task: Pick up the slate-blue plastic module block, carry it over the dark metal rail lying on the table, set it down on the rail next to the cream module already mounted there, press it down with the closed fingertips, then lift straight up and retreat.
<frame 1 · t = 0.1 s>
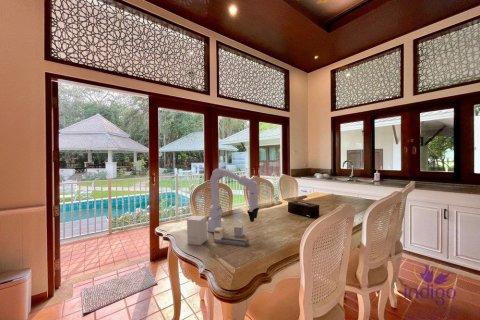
hand: (253, 219, 138), 10 cm above the table, fingers open, 7 cm apart
module: (238, 235, 137), on the table
mounted module: (218, 241, 128), resting on rail
supplement box: (197, 242, 128), on the table
rail: (230, 243, 125), on the table
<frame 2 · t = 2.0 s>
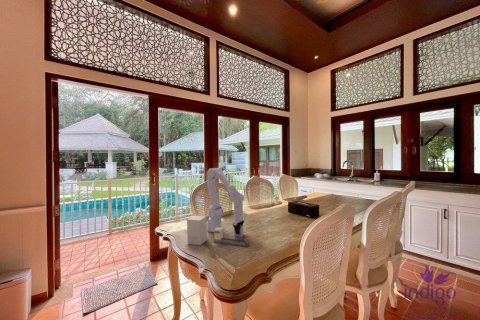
hand: (238, 232, 137), 2 cm above the table, fingers closed on module, 4 cm apart
module: (238, 235, 137), on the table, touching gripper
everything else where it was.
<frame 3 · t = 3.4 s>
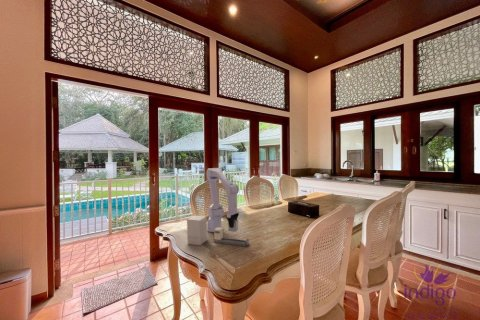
hand: (232, 226, 128), 9 cm above the table, fingers closed on module, 4 cm apart
module: (233, 230, 129), point 6 cm above the table, touching gripper
everything else where it was.
when the fingers open (5 cm above the table, at t = 4.8 s): module stays where it is, resting on rail.
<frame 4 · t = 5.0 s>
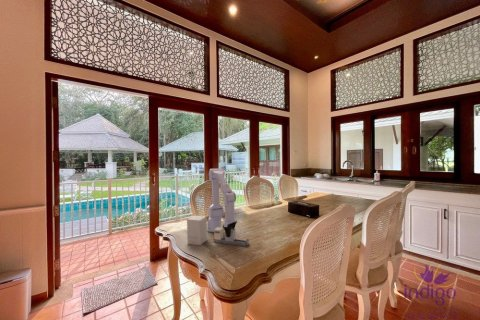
hand: (230, 235, 125), 5 cm above the table, fingers open, 5 cm apart
module: (230, 239, 125), point 2 cm above the table, touching rail
everything else where it was.
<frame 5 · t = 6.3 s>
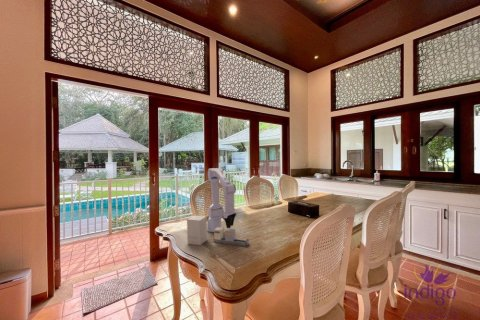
hand: (229, 226, 125), 10 cm above the table, fingers open, 4 cm apart
nothing on the table moved.
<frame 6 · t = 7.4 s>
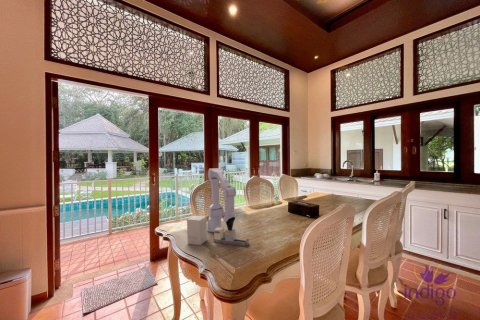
hand: (230, 229, 125), 8 cm above the table, fingers closed, pressing on module
module: (230, 239, 125), point 2 cm above the table, touching gripper, rail
everything else where it was.
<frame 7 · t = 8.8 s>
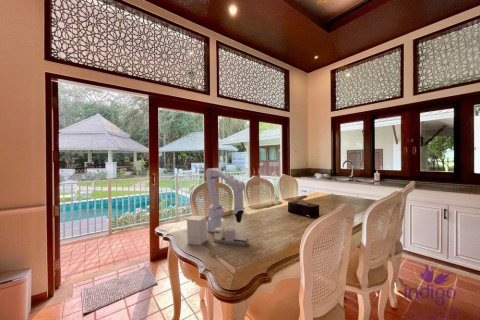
hand: (238, 222, 132), 10 cm above the table, fingers closed
module: (230, 239, 125), point 2 cm above the table, touching rail
everything else where it was.
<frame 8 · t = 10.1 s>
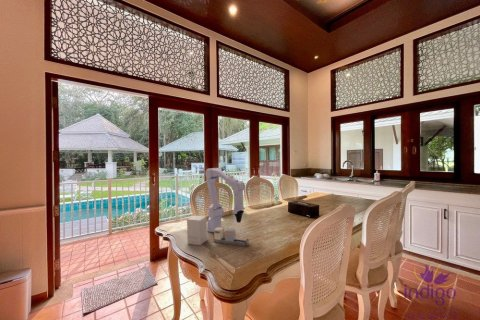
hand: (238, 222, 132), 10 cm above the table, fingers closed
nothing on the table moved.
at the end: module 0.1 cm off-centre on the rail, point 2.0 cm above the rail's base; module touching rail; module tilted 0° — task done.
